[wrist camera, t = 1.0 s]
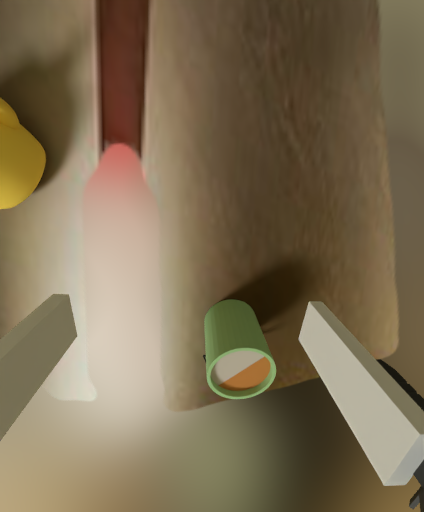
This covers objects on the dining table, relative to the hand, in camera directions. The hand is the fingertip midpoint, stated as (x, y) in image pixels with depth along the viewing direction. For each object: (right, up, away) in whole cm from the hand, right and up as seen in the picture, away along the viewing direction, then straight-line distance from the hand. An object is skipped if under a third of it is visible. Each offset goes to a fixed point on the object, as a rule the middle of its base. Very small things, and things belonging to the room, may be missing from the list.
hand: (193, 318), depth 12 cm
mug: (+5, -10, +31) cm, 33 cm away
